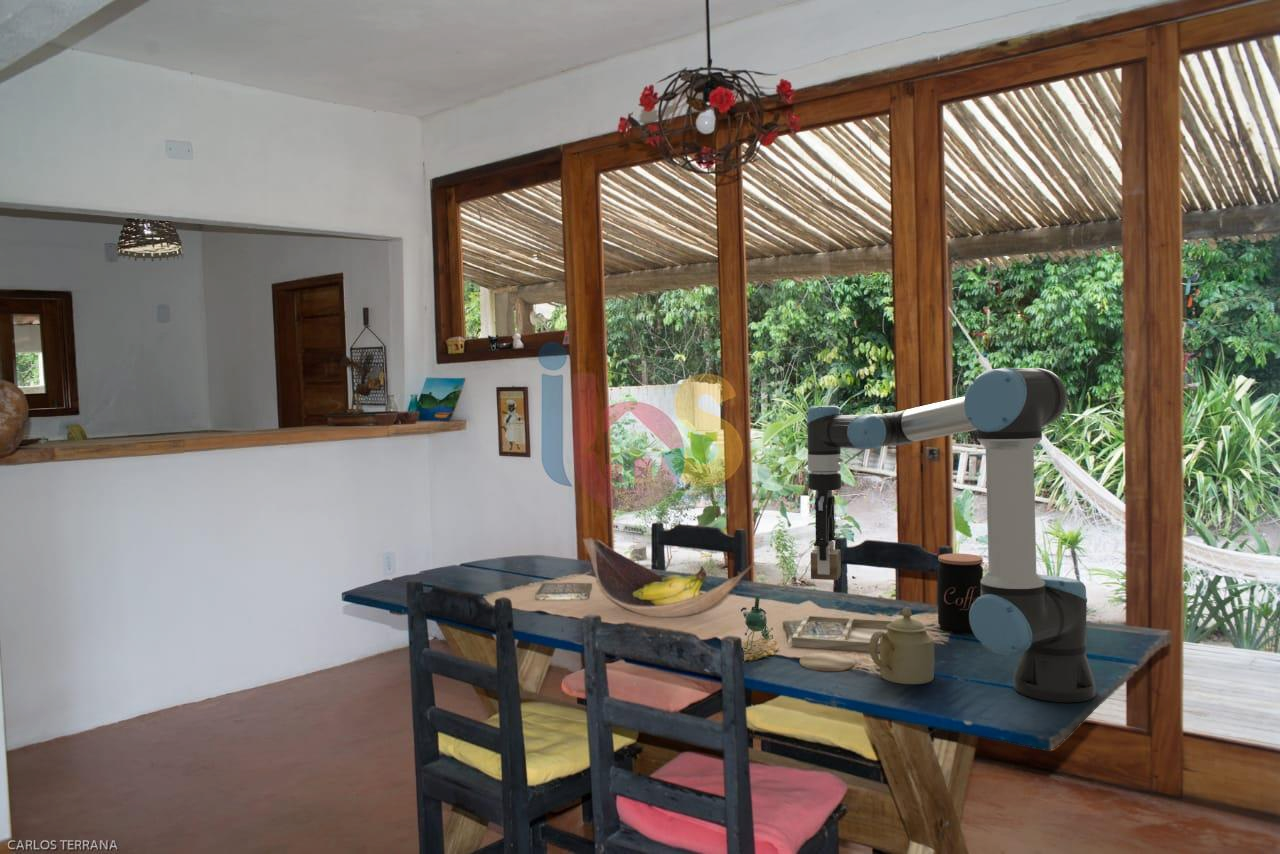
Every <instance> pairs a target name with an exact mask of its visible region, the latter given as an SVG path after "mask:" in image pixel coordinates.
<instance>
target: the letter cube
mask: <svg viewBox="0 0 1280 854" xmlns="http://www.w3.org/2000/svg"><path fill="white" fill-rule="evenodd" d="M841 554H842V553H841V549H834V550H832V549H830V575H826V574H818V568H817V548H814V549H813V550H812V551H811V552H810V579H811V580H822V581H824V580H825V581H826V580H827V581H838V580H839V578H840V577H841V575H842V569H841V567H842V565H841V563H842V562H841V561H842V559H841Z"/></svg>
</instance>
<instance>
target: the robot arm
mask: <svg viewBox="0 0 1280 854" xmlns="http://www.w3.org/2000/svg"><path fill="white" fill-rule="evenodd" d="M1067 403H1068V391H1067V389H1066V385H1065V384H1064V381H1063V380H1062V379H1061V378H1060V377H1059V376H1058V375H1056V374H1055V372H1053V371H1051V370H1048V369H1045V368H1040V367H1029V368H1028V367H1027V368H1023V367H1022V368H1021V367H1020V368H1017V367H1002V368H994V369H989V370H986V371H983V372H982V373H980V374H978V375H977V376H976V377H975V378H974V379H973V381H971V383H969V385H968V387H967V390H966V392H965V394H964V396H961V397H957V398H952V399H949V400H942V401H939V402H934V403H931V404H926V405H922V406H917V407H912V408H909V409H903V410H900V411H898V410H897V411H895V412H887V413H869V414H868V413H867V414H866V413H865V414H842V413H841V409H840V407H839V406H837V405H815V406H814V405H813V406H810V407H809V408H808V409H807V421H806V429H807V430H806V431H807V433H806V434H807V470H808V472H810V473H808V476H807V478H808V479H807V484H808V485H807V487H808V489H810V490H812V491H817V496H816V497H815V498H814V508H815V510H814V511H815V541H814V542H813V546H814V547H816V549H817V568H818V574H826V575H830V549H832V550H835V542H836V541H838V536H836V533H835V532H836V531H835V530H836V527H835V526H836V525H835V523H836V522H835V498H836V497H835V495H833V492H832V491H839V490H840V489H841V488H842V474H841V473H840V472H841V469H842V467H841V466H842V465H841V464H842V463H843V462H844V458H842V457H841V448H844V449H845V448H847V449H848V448H849V449H858V450H863V451H864V450H875V449H878V448H879V447H881V448H882V447H887V446H890V447H891V446H907V445H911V444H913V443H915V442H920V441H925V440H930V439H936V438H940V437H947V436H952V435H956V434H957V435H958V434H961V433H962V434H963V433H967V432H973V431H976V440H977V441H978V442H979V443H980V444H981V445H982V446H983V447H984V449H985V479H986V481H985V482H986V483H985V484H986V517H987V518H986V519H987V522H986V523H987V559H988V560H987V561H988V562H987V563H988V565H987V566H988V571H987V572H986V574H985V575H983V578H982V579H981V582H980V583H981V597H978V598H977V599H976V600H975V602H974V603H973V604H972V605H971V608H970V612H969V621H970V626H971V629H972V631H973V633H972V634H973V635H974V636H975V638H976V640H978V641H979V642H980V643H981V646H983V647H984V648H985V649H987V650H988V651H990V652H992V653H995V654H996V655H1001V656H1010V655H1017V654H1021V655H1020V657H1019V660H1018V662H1017V663H1018V664H1017V666H1016V668H1015V672H1014V674H1013V689H1014V690H1015V691H1016V692H1018V693H1019V694H1021V695H1024V696H1026V697H1029V698H1032V699H1034V700H1041V701H1048V702H1052V703H1053V702H1054V703H1081V702H1082V703H1083V702H1086V701H1090V700H1092V699H1094V698H1096V697H1095V696H1096V682H1095V679H1094V676H1093V672H1092V670H1091V666H1090V663H1089V661H1088V657H1087V613H1088V612H1087V603H1088V598H1087V587H1086V585H1085V584H1084V583H1083V581H1081V580H1079V579H1073V578H1070V577H1065V576H1059V575H1058V576H1057V575H1050V574H1049V575H1048V574H1041V573H1040V574H1038V573H1037V546H1036V545H1037V543H1036V541H1037V540H1036V536H1037V535H1036V499H1035V498H1036V496H1035V495H1036V494H1035V493H1036V492H1035V456H1034V455H1035V453H1034V452H1035V451H1034V450H1035V446H1037V445H1038V444H1039V443H1040V442H1041V441H1042V439H1043V427H1044V426H1048V425H1050V424H1052V423H1054V422H1056V421H1057V420H1058V419H1059V418H1060V417H1061V416H1062V415H1063V413H1064V412H1065V410H1066V408H1067ZM834 541H835V542H834Z"/></svg>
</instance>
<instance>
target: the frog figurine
mask: <svg viewBox="0 0 1280 854" xmlns="http://www.w3.org/2000/svg"><path fill="white" fill-rule="evenodd" d="M754 597H755V599H754V606H752V607H751V610H750V611H749V612H748V611H747V609H748V608H747V607H744V606H743V607H742V608H741V609H740V612H741V613H742V615H743V617H744V619H745V621H744V623H745V625H746V626H747V630H746V632H744V636H747V635H748V631H749V630H751V632H750V633H749V635H748V636H747V640H746V641H744V642H742V644H743V651H744V661H743V662H746V661H756V660H759V659H761V658H765V657H767V656H774V655H775V653H776V652H777V651H778V649H779V648H780V646H779V645H778V641H777V640H776V639H777V638H775V637H774V636H773V634H770V632H771V631H773V630H774V629H773V627H770V629H769V627H768V625H767V622H768V621H767V616H766V615H767V612H766V611H765V610H764V609H763V608H762V607H760V599H761V597H760V594H758V593H757V594H756V595H755V596H754ZM755 632H760V633H761V636H760V638H759V639H757V638H756V637H755V638H754V636H755ZM751 635H752V637H751V639H749V638H750V636H751Z"/></svg>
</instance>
